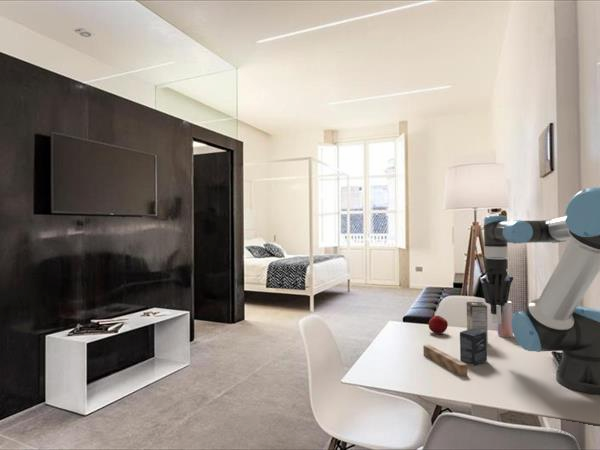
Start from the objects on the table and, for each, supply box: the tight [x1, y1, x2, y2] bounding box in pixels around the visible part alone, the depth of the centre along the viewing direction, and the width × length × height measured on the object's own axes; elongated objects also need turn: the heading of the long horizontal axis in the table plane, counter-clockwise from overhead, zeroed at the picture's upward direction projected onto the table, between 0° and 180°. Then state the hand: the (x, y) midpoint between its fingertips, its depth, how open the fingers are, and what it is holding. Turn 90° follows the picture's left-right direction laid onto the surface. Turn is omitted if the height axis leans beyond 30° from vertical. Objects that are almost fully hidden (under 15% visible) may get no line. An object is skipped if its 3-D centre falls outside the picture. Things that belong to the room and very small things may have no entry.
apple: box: [428, 315, 449, 335], centre depth 173 cm, size 8×8×8 cm
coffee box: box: [466, 301, 489, 346], centre depth 159 cm, size 9×6×16 cm
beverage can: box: [496, 300, 514, 338], centre depth 168 cm, size 6×6×15 cm
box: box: [459, 329, 488, 366], centre depth 136 cm, size 8×6×11 cm
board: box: [422, 344, 468, 377], centre depth 133 cm, size 22×2×4 cm, turn 13°
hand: (496, 322), depth 138 cm, fingers closed
